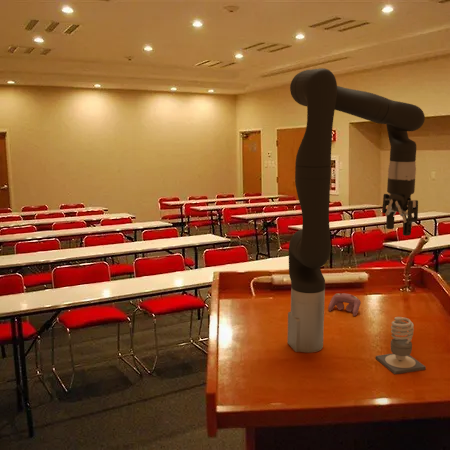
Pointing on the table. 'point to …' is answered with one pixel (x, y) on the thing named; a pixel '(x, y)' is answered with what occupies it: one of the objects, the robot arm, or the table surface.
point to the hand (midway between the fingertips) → (398, 232)
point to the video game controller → (346, 298)
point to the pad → (400, 363)
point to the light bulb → (401, 344)
